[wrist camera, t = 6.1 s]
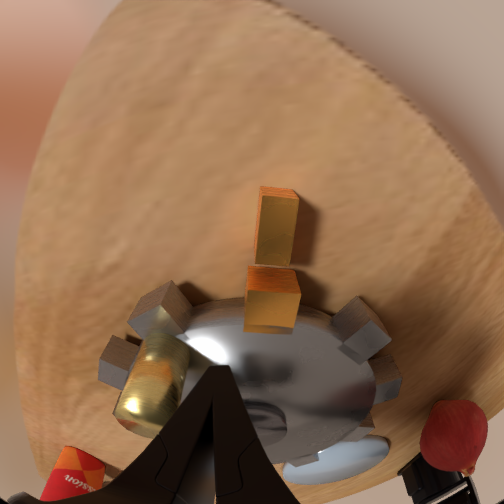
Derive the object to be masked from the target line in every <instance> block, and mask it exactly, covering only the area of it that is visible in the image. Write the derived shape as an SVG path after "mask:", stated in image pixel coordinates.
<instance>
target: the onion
mask: <svg viewBox="0 0 504 504" xmlns="http://www.w3.org/2000/svg"><path fill="white" fill-rule="evenodd" d="M487 432H488V423H487V419H486V416H485V414H484V412H483V410H482V409H481V408H480V407H479V406H478V405H477V404H476V403H474V402H471V401H469V400H440V401H438V402H437V403H435V404H434V406H433V407H432V410H431V413H430V415H429V417H428V420H427V422H426V424H425V426H424V428H423V430H422V433H421V439H420V450H421V453H422V455H423V457H424V459H425V460H426V461H427V462H428V463H429V464H430V465H431V466H433V467H435V468H437V469H439V470H444V471H459V472H461V473H463V474H464V475H465V477H467V476H470V475H472V474H473V472H474V470H475V464H476V461H477V459H478V457H479V455H480V453H481V452H482V449H483V447H484V445H485V442H486V438H487Z"/></svg>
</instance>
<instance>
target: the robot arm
mask: <svg viewBox="0 0 504 504" xmlns="http://www.w3.org/2000/svg"><path fill="white" fill-rule="evenodd" d="M397 475H398V476H400V475H402V476H403V480H404V483H405V486H406V489H407V493H408V495H409V496H412V500H413V503H414V504H431V503H433V502H435V501H437V500H439V499H441V498H443V497H444V496H446V495H448V494H450V493H452V492H453V491H455V490H457V489H458V488H460V487H462V486H463V485H465V484H467V485H468V486H467V487H465V488H464V489H462V490H460V491H458V492H457V493H455V494H453V495H452V496H450V497H448V498H446V499H445V500H442V501H441V502H439V503H437V504H480V501H479V497H478V494H477V491H476V487H475V485H474V482H473V480H472V478H471V476H467V477H464V478H463V476H462V474H461V472H459V471H444V470H439V469H437V468H435V467H433V466H431V465H430V464H429V463H428V462H427V461H426V460H425V459H424V457H423V455H422V453H420V454H418V455H417V456H416V457H415V458H414V459H413V460H412V461H411V462H410V463H409V464H407V465H406V466H405V467H404V468H403V469H402V470H400V471H399V472H398V473H397ZM215 492H216V504H300V503H299V501H298V500H297V499H296V498H295V496H294V495H293V494H292V492H291V491H290V490H289V488H288V487H287V485H286V484H285V483H284V481H283V480H282V478H281V477H280V475H279V474H278V473H277V471H276V470H275V468H274V466H273V465H272V463H271V462H270V460H269V458H268V456H267V454H266V452H265V450H264V448H263V446H262V444H261V442H260V439H259V438H258V435H257V433H256V430H255V428H254V426H253V423H252V421H251V418H250V416H249V414H248V411H247V409H246V406H245V404H244V401H243V399H242V396H241V394H240V391H239V389H238V386H237V383H236V381H235V378H234V376H233V373H232V370H231V368H230V366H229V365H210V366H209V367H208V368H207V370H206V371H205V372H204V374H203V375H202V376H201V378H200V379H199V380H198V382H197V383H196V384H195V386H194V387H193V388H192V390H191V391H190V392H189V394H188V395H187V396H186V398H185V399H184V400H183V402H182V403H181V404H180V406H179V407H178V408H177V409H176V411H175V412H174V413H173V415H172V416H171V417H170V419H169V420H168V421H167V422H166V424H165V425H164V426H163V428H162V429H161V430H160V431H159V434H157V435H156V436H155V438H154V439H153V440H152V441H151V443H150V444H149V445H148V446H147V447H146V449H145V450H144V451H143V452H142V453H141V454H140V455H139V456H138V457H137V458H136V459H135V460H134V461H133V462H132V463H131V464H130V465H129V466H128V467H127V468H126V469H124V470H123V471H122V472H121V473H120V474H119V475H118V476H117V477H116V478H115V479H114V480H112V481H111V482H110V483H109V484H107V485H106V486H104V487H103V488H101V489H98V490H96V491H92V492H89V493H85V494H81V495H77V496H73V497H69V498H65V499H60V500H55V501H42V500H38V499H36V498H34V497H33V496H31V495H29V494H27V493H26V492H21V493H18V494H15V495H13V496H11V497H10V498H9V499H8V500H7V501H8V502H9V503H8V502H7V501H5V500H4V499H2V498H1V497H0V504H214V499H215ZM469 492H470V493H469ZM468 493H469V494H468ZM496 504H504V499H503V500H501V501H500V502H498V503H496Z"/></svg>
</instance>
